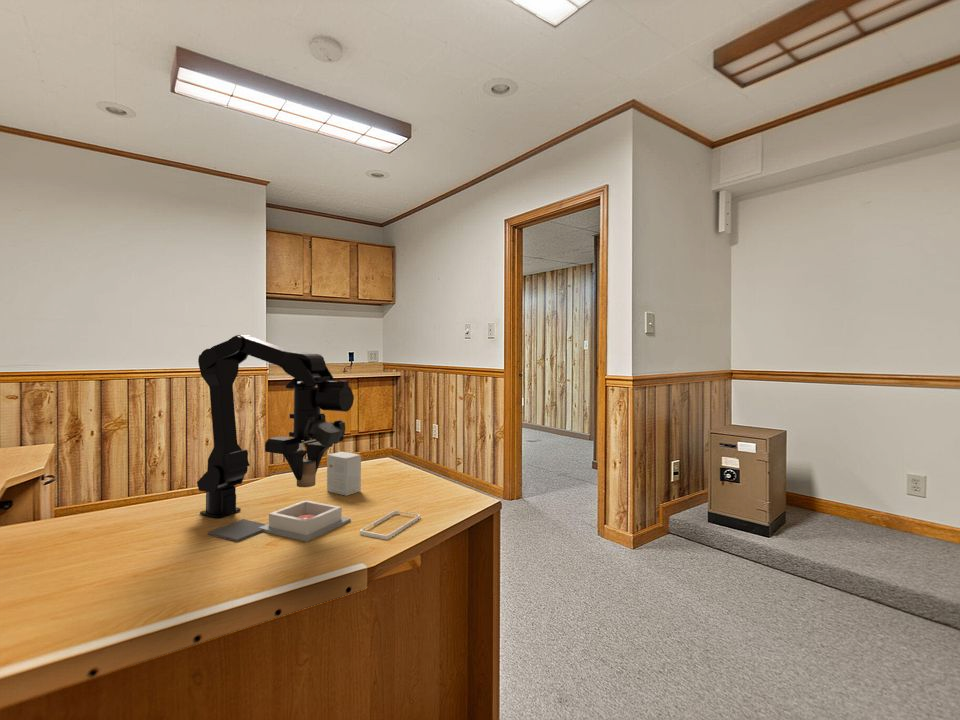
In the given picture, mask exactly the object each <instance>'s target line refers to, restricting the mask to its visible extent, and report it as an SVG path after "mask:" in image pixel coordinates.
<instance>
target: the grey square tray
mask: <svg viewBox="0 0 960 720" xmlns="http://www.w3.org/2000/svg"><path fill="white" fill-rule="evenodd" d="M302 515H315V516H314V517H312V518H309V519H307V520H306V519H302V518H297V517H298V516H302ZM350 522H351V517H345V516H342V506H338V505H332V504H328V503H322V502H316V501H313V500H306V499H305V500H302V501H299V502H297V503H294V504H291V505H288V506H286V507H283V508H280V509H278V510H274V511H273V512H270V513H268V523H265V524H266V525H264V526H261V527H258V528H260V529H263V532H262V533H268V534H271V535H276V536H281V537H285V538H289V539H293V540H298V541H302V542H306V543H308V542H310V541H312V540H314V539H316V538H318V537H320V536H322V535H325V534H327V533H329V532H331V531H333V530H335V529H337V528H339V527H341V526H343V525H345V524H348V523H350Z"/></svg>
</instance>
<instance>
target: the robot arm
mask: <svg viewBox="0 0 960 720" xmlns="http://www.w3.org/2000/svg"><path fill="white" fill-rule="evenodd" d="M249 356H250V357H254V358H255V359H259V360H261V361H264V362H266V363H270V364H272V365H275V366H278V367H279V368H281V369H282V370H283V371H284V372H285V374H287V375H289V376H290V377H292V379H291V380H290V381H289V382H288V383H286V385H285V389H290V390H293V413H292V412H291V413H289V419H293V430H292V431H289V433H288V436H289V437H288V436H281V435H280V436H275V437H270V438H267V440H266V441H265V443H264V452H265V453H272V454H276V455H277V454H279V455H282V456H283V457H284V459H285V460H286V461H287V464H288V465H289V467H290V470H291V471H292V473H293V475H294V477H295V479H296V481H297V480H301V479H302V470H303V459H304V457H305V456H306V457H307V458H306V459H315V460H316V473H317V472H318V469H319V466H320V463H321V461H322V458H323V456H324V454H325V452H326V451H327V450H328V449H329V448H331V447H333V444H335V445H336V444H339V442H343V441H344V436H345V435H346V422H345V421H344V420H341V419H338V420H334V422H333V421H329V422H328V421H326V415H325V413H324V412H321V411H322V410H323V411H330V412H332V411H333V412H343V413H344V412H346V413H348V412H349V411H350V410H351V409H352V407H353V405H354V399H355V395H354V393H353V390H352V387H350V385H349V380H338V381H337V380H335V378H334V376H333V375H332V373H331V372H330V369H328V366H327V365H326V361H325V358H324V357H323V356H322V355H321V354H319V353H312V352H305V351H294V350H291V349H289V348H288V349H287V348H285V347H282V346H280V345H276V344H272V343H270V342H268V341H265V340H262V339H259V338H257V337H255V336H253V335H247V334H246V335H245V334H236V335H234V336H232V337H230V338H229V339H228V340H225V341H222V342H221V343H217V344H216V345H213V346H212V347H210V348H206V349H204V350H203V351H202V352H201V353H200V354H199V356H198V361H197V362H198V367H199V372H200V376H201V377H202V379H203V380H204V382H205V383H206V384H207V385H208V387H209V399H210V411H211V423H212V436H213V437H212V438H213V448H212V450H211V453H210V454H209V457H208V459H207V468H206V469H207V471H206V472H205V473H203V474H202V476H201V477H200V478H199V479H198V481H196V484H197V489H198V491H200V492H204V493H205V510H202V511H199V515H203V516H205V517H210V518H211V517H212V518H214V519H218V518H222V517H227V516H228V515H232V514H235V513H237V512H240V511H242V509H241V507H237V493H236V486H238V485H242V484H243V481H244V478H245V476H246V474H247V473H248V467H250V466H251V465H250V462H249V451H248V449H244V450H243V449H242V448H241V447H240V444H238V436H237V425H236V411H235V399H234V398H235V397H234V387H233V385H234V382H235V380H236V379H237V376H238V375H239V368H240V366H239V365H240V364H242V363H243V362H245V361H246V360H247V358H248V357H249ZM304 446H305V450H304Z"/></svg>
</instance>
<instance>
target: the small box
mask: <svg viewBox="0 0 960 720" xmlns="http://www.w3.org/2000/svg"><path fill="white" fill-rule="evenodd" d="M326 456H327V457H326V461H327V462H326V463H327V464H326V468H327V469H326V491H327V492H328V491H329V492H328V493H333V494H337V495H341V496H349V495H353V494H355V493H359V492H361V491H362V455H361V454H357V453H352V452H346V451H339V452H334V453H329V454H327V455H326Z"/></svg>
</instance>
